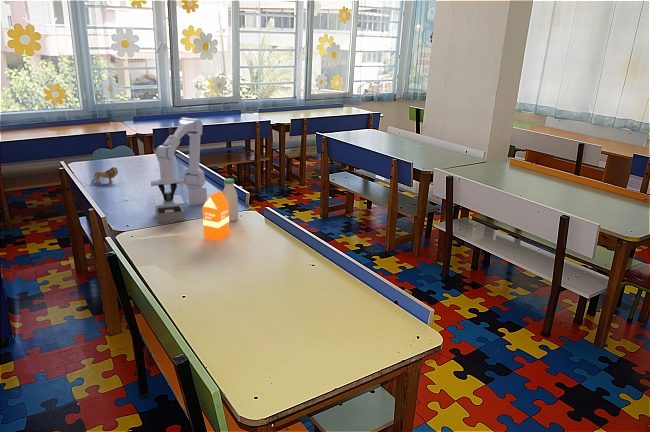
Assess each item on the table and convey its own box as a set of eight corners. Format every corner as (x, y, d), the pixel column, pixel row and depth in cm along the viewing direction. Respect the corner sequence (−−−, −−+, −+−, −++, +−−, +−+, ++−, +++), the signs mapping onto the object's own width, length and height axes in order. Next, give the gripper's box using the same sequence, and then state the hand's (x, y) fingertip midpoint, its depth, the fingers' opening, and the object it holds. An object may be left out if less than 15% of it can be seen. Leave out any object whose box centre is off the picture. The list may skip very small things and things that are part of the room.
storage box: (181, 212, 247) (180, 203, 245) (184, 221, 237) (184, 211, 235) (155, 215, 242) (154, 205, 241) (158, 224, 232) (157, 214, 230)
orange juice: (203, 237, 220) (201, 194, 213) (215, 230, 228) (213, 188, 221) (219, 241, 218) (217, 197, 210) (229, 233, 225) (228, 191, 218)
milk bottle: (241, 219, 242) (240, 179, 235) (228, 223, 237) (227, 182, 230) (231, 215, 247) (230, 176, 240) (218, 218, 242) (217, 179, 234)
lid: (180, 198, 245) (180, 187, 243) (184, 206, 234) (183, 196, 232) (153, 200, 240) (152, 190, 238) (156, 209, 229) (155, 198, 227)
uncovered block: (173, 215, 242) (173, 209, 241) (174, 218, 238) (174, 212, 237) (165, 216, 240) (164, 210, 239) (166, 219, 237) (165, 213, 236)
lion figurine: (119, 180, 291) (118, 165, 288) (118, 183, 286) (116, 168, 283) (92, 181, 288) (90, 166, 284) (90, 184, 283) (88, 168, 280)
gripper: (150, 175, 225) (153, 203, 230) (183, 172, 230) (185, 200, 235) (149, 170, 231) (151, 198, 236) (181, 168, 236) (183, 195, 241)
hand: (168, 199), depth 236 cm, fingers closed on lid, 3 cm apart
